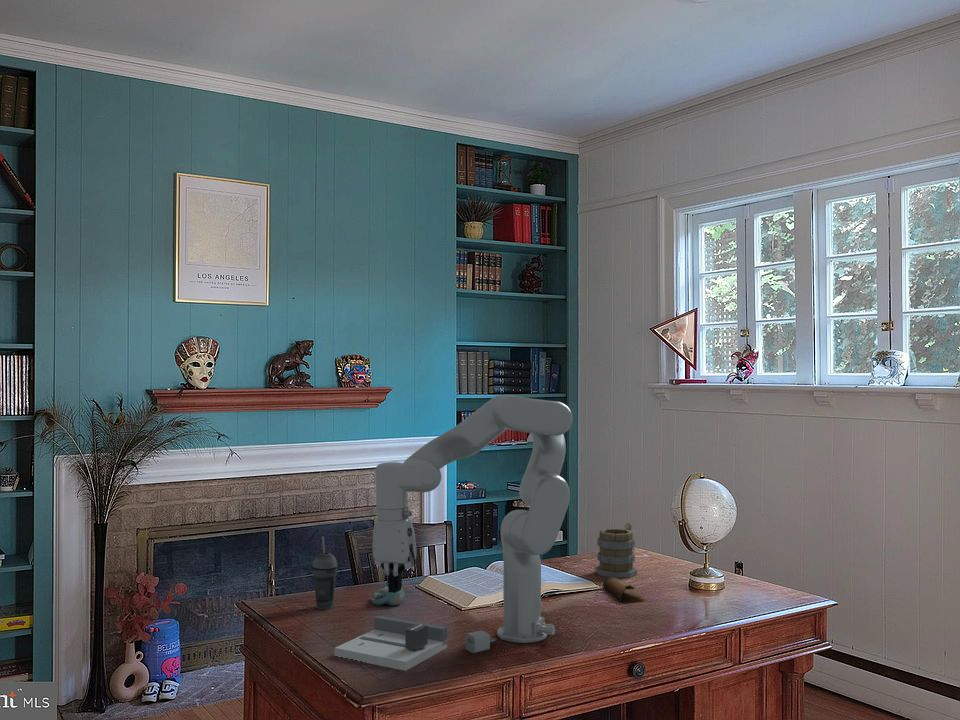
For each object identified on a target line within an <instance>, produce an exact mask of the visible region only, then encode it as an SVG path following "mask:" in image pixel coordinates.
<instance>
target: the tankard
mask: <svg viewBox="0 0 960 720" xmlns="http://www.w3.org/2000/svg"><path fill="white" fill-rule="evenodd" d="M632 529H633V526H632V525H631V524H630V522H626V523H625V524H624V526H623V527H622V528H604V529H601V530H600V531H599V532H598V533H599V537H598V538H597V547H599V551H598V552H597V555H596V556H597V561H599V565H598V566H596V567H594V570H595V571H594V572H595V573H596V574H597V575H599V576H600V577H603V578H604V577H605V578H607V577H613V578H617V579H626V578H627V579H628V578H632V577H634V576H636V575H637V574H638V569H637V568H636V567H634V566H633V565H634V563H635V561H636V559H635V558H636V556H635V554H634V553H633V552H634V551H633V549H634V547H635V545H636V541H635V539H634V537H633V535H634V534H633V533H634V532H633V531H631V530H632Z"/></svg>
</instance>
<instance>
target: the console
mask: <svg viewBox="0 0 960 720" xmlns="http://www.w3.org/2000/svg"><path fill="white" fill-rule="evenodd" d="M415 624H422V625H427V626H428V644H427V645H425V646H423V647H422V648H420V649H418V650H411V649H406V648H405V629H407V628H409V627H411V626H413V625H415ZM447 648H448V626H445V625H444V626H443V625H437V624H432V623H425V622H419V621H414V620H407V619H402V618H396V617H390V616H383V615H377V616H375V617H374V629H372V630H370V631H368V632H366V633H364V634H362V635H360V636H358V637H357V636H356V637H355V638H353V639H351V640H349V641H346V642H344V643H342V644H340V645H338V646H336V647H334V657H335V656H338V657H337V658H340V657H343V658H342V659H345V658H348V659H347V660H350V659H353V660H352V661H355V660H357V662H360V661H362V662H361V663H365V662H366V664H370V665H374V666H375V665H376V666H380V667H385V668H389V669H390V668H391V669H396V670H399V671H405V672H407V671H408V670H410V669H412V668H413V667H415V666H418V665H419V664H421V663H422V662H424V661H426V660H427V659H429V658H431V657H433V656H435V655H436V654H438V653H440V652H441V651H443V650H445V649H447Z"/></svg>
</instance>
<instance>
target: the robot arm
mask: <svg viewBox="0 0 960 720" xmlns="http://www.w3.org/2000/svg"><path fill="white" fill-rule="evenodd" d="M573 419H574V418H573V413H572V411H571V409H570V408H569V406H568V405H566V404H565V403H563V402H561V401H556V400H555V401H554V400H548V399H547V400H546V399H537V398H530V397H525V396H524V397H523V396H518V395H512V394H511V395H510V394H509V395H508V394H499V395H496V396H494V397H492V398H491V399H489V400H487V402H485V403H484V404H482V406H480V407H479V408H478V409H477V410H475V411H474V412H473V413H471V414H470V415H469V416H467V417H466V418H465V419H463V420H462V421H461V422H459V423H458V424H457V425H455V426H454V427H452V428H450V429H448V430H447V431H445V432H444V433H442V434H441V435H439V436H437V437H434V438H433V439H432V440H430V441H427V443H426V444H424V445H422V447H420V448H418V449H417V450H416V451H415V452H413V453H412V454H411V455H410V456H409V457H407V458H406V459H405V460H404V462H400V461H399V462H398V461H391V462H390V461H389V462H381V463H379V464H377V465H376V467H375V471H374V473H375V475H374V476H375V477H374V478H375V502H376V504H375V505H376V519H375V520H374V525H373V533H372V558H373V560H374V565H376V566H378V567H381V568H382V570H383V571H384V575H386V576H387V580H388V591H389V592H393V593H396V592H398V591H400V590H401V587H402V586H403V582H402V581H403V579H402V578H403V577H402V574H404V572H405V571H406V570H409V569H412V568H414V567H415V563H414V562H415V561H414V560H416V559H417V556H418V555H417V554H418V553H417V543H416V542H417V541H416V534H415V529H414V525H413V521H412V519H409V518H410V517H412V515H413V512H412V511H411V510H409V505H408V500H409V497H408V496H409V495H408V494H409V493H410V492H413V493H429V492H432V491H434V490H436V489H437V488H438V487H439V485H440V484H441V481H442V472H441V469H442V468H444V467H445V466H447V465H448V464H451V463H453V462H455V461H457V460H461V459H465V458H470V457H472V456H474V455H476V454H478V453H480V452H481V451H482V450H483V449H484V448H486V447H487V446H488V445H489V444H491V443H492V442H493V441H495V440H496V439H497V438H498V437H500V436H501V435H502V434H503V433H504V432H507V430H508V431H516V432H522V433H528V434H531V437H532V441H533V442H532V443H533V445H532V451H531V455H530V456H529V457H530V458H529V461H528V463H527V466H526V468H525V471H524V474H523V477H522V479H521V482H520V485H519V491H518V492H519V493H518V494H519V498H520V499H521V500H522V501H521V502H523V503H525V504H526V505H528V506H529V509H528V510H525V509H515V510H512V511H510V512H508V513H507V514H506V515H504V518H503V519H502V521H501V525H500V539H501V546H502V547H501V548H502V549H501V550H502V557H503V561H502V562H503V573H502V575H503V578H502V579H503V582H502V583H503V587H502V588H503V589H502V590H503V592H502V593H503V594H502V596H503V599H502V600H503V601H502V604H503V608H502V609H503V611H502V612H503V616H502V617H503V620H502V621H503V623H502V625H503V626H500V627H499V628H498V629H497V633H496V634H497V637H498V638H499V639H500V640H503V641H506V642H510V643H516V644H517V643H518V644H528V643H537V642H541V641H543V640H545V639H547V636H548V635H549V636H550V635H551V636H555V633H556V627H555V624H551V623H546V622H545V619H546V617H544V616H542V562H541V560H542V559H541V556H542V555H545V554H546V553H548V552H549V551H550V550H551V549H552V547H553V546H554V544H555V542H556V541H557V538H558V536H559V533H560V530H561V528H562V524H563V521H564V519H565V516H566V513H567V511H568V507H569V504H570V501H571V500H570V499H571V490H570V487H569V485H568V482H567V481H566V479H565V478H563V477H562V476H561V472H562V468H563V465H564V462H565V457H566V453H567V445H566V444H567V443H566V438H565V435H564V434H566V433H567V432H568V431H569V430H570V428H571V426H572V425H573ZM408 492H409V493H408ZM402 588H403V587H402Z"/></svg>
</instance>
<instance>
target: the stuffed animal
mask: <svg viewBox="0 0 960 720" xmlns="http://www.w3.org/2000/svg"><path fill="white" fill-rule="evenodd" d="M372 596H373V597H371V598H370V600H371V602H372V603H373V604H374V605H375V606H378V607H379V606H383V605H384V604H386V605H388V606H398V605H400V604H401V603H402V602H403V600H404V598H405V591H404V590H403V587H401V590H400V591H398V592H396V593H393V592H389V591H388V579H386V581H385V585H384V586H383V587H382V588H380V589H379V590H378V591H375V592H373V593H372Z"/></svg>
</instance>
